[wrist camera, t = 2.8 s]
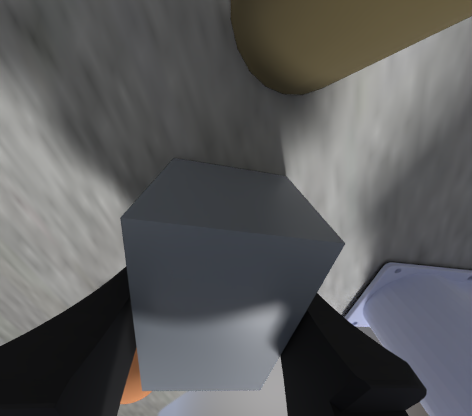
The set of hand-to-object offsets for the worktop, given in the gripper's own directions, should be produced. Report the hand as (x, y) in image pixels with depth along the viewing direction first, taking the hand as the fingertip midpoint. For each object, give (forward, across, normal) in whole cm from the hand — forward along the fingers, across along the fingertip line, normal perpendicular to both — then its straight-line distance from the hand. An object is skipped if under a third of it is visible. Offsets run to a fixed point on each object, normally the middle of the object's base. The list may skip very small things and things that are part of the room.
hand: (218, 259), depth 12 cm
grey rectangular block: (+2, 0, 0) cm, 2 cm away
